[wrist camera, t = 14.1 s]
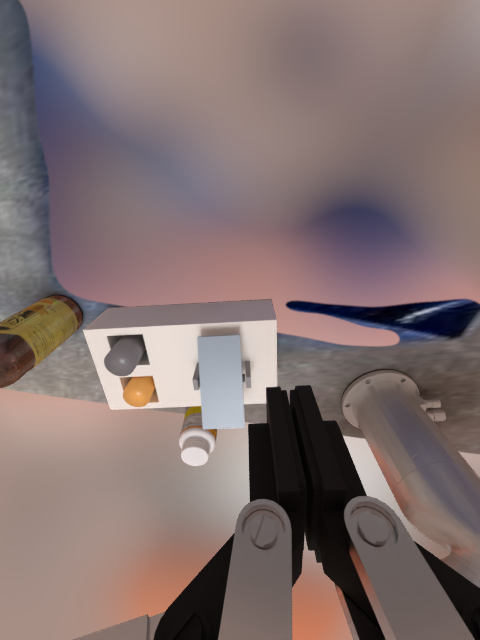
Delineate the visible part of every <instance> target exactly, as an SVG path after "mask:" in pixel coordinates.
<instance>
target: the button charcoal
mask: <svg viewBox="0 0 480 640" xmlns="http://www.w3.org/2000/svg"><path fill="white" fill-rule="evenodd" d="M145 351H146V346H145V342H144V338H143V334H135V335H123V336H122V337H121V338H120V339H119V340H118V342H117V343H116V344H115V345H114V346H113V348H112V349H111V350H110V351H109V353H108V354H107V355H106V356H105V358H104V365H105V367H106V369H107V370H108V371H109V372H110V373H112V374H114V375H116V376H128V375H130V374H131V373H132V372H133V371H134V369H135V368H136V366H137V364H138V363H139V361H140V359H141V358H142V356H143V354H144V353H145Z"/></svg>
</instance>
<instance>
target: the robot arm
mask: <svg viewBox="0 0 480 640" xmlns="http://www.w3.org/2000/svg"><path fill="white" fill-rule="evenodd" d="M440 407H441V402H440V401H439V400H438V399H428V400H424V399H423V398H421V397H420V395H419V389H418V387H417V385H416V384H415V383H414V382H413V380H412V379H411V378H409V377H408V376H407V375H405V374H403V373H401V372H398V371H393V370H379V371H374V372H371V373H368V374H365V375H363V376H361V377H360V378H358V379H357V380H355V381H354V382H353V383H352V384H351V385H350V386H349V387H348V388H347V389H346V391H345V392H344V395H343V397H342V401H341V408H342V411H343V414H344V416H345V418H346V420H347V421H348V422H349V423H350V424H352V425H353V426H355V427H357V428H359V429H361V430H362V432H363V434H364V436H365V438H366V440H367V442H368V444H369V446H370V448H371V450H372V452H373V454H374V456H375V458H376V461H377V463H378V465H379V467H380V469H381V471H382V473H383V475H384V477H385V479H386V481H387V483H388V485H389V487H390V489H391V491H392V493H393V495H394V497H395V499H396V501H397V503H398V505H399V507H400V509H401V511H402V513H403V514H404V516H405V517H406V518H407V520H408V521H409V522H410V523H411V524H412V525H413V527H414V528H415V529H417V530H418V531H419V532H420V533H421V534H423V535H424V536H426V537H427V538H429V539H430V540H432V541H433V542H435V543H437V544H438V545H440V546H442V547H443V548H445V549H447V550H448V551H450V552H451V553H450V555H449V556H447V557H445V558H443V559H438V558H437V557H435V556H434V555H433V554H431V553H430V552H429V551H427V550H426V549H424V548H423V547H422V546H420V545H419V544H417V543H416V542H415V541H413V540H412V538H411V536H410V534H409V533H408V531H407V530H406V528H405V526H404V525H403V523H402V522H401V520H400V518H399V517H398V516H397V515H396V513H395V512H394V511H393V510H392V509H391V508H390V507H389V506H388V505H386V504H385V503H383V502H382V501H380V500H378V499H376V498H372V497H369V496H367V495H366V493H365V491H364V488H363V486H362V483H361V480H360V478H359V475H358V473H357V471H356V468H355V465H354V463H353V460H352V458H351V456H350V453H349V451H348V448H347V446H346V443H345V441H344V438H343V436H342V433H341V431H340V428H339V426H338V424H337V422H336V421H323V420H322V417H321V414H320V411H319V408H318V405H317V402H316V400H315V397H314V394H313V391H312V388H311V386H310V385H305V386H295V390H290V405H289V401H288V396H287V392H286V390H281V388H280V387H266V408H267V423H260V424H249V425H248V432H249V433H248V434H249V476H250V478H249V480H250V503H248V504H247V505H246V506H245V507H244V508H243V509H242V511H241V512H240V514H239V516H238V519H237V523H236V529H235V533H234V534H233V535H232V536H231V538H230V539H229V540H228V541H227V542H226V543H225V544H224V545H223V547H222V548H221V549H220V550H219V551H218V552H217V553H216V555H215V556H214V557H213V558H212V559H211V560H210V561H209V562H208V564H207V565H206V566H205V567H204V568H203V569H202V570H201V571H200V572H199V574H198V575H197V576H196V577H195V578H194V579H193V580H192V581H191V583H190V584H189V585H188V586H187V587H186V588H185V589H184V590H183V592H182V593H181V594H180V595H179V596H178V597H177V599H176V600H175V601H174V602H173V603H172V604H171V605H170V606H169V607H168V609H167V610H166V612H163V613H160V614H157V615H155V616H152V617H148V615H144V616H141V617H138V618H135V619H132V620H129V621H127V622H124V623H120V624H118V625H114V626H112V627H109V628H106V629H103V630H100V631H97V632H94V633H91V634H88V635H85V636H82V637H79V638H76V639H74V640H292V587H293V586H294V584H295V582H296V580H297V579H298V578H299V576H300V574H301V571H302V556H303V550H304V535H305V536H306V541H307V546H308V550H314V551H315V555H316V560H317V563H318V562H319V563H320V562H321V563H322V565H323V570H324V573H325V574H326V575H327V576H328V577H329V578H330V579H331V580H332V581H333V582H334V583H335V587H336V591H337V594H338V597H339V600H340V603H341V606H342V608H343V611H344V614H345V617H346V620H347V623H348V626H349V628H350V631H351V634H352V637H353V640H480V478H479V476H478V475H477V474H476V473H475V472H474V470H473V469H472V468H471V467H470V465H469V464H468V463H467V462H466V460H465V459H464V458H463V457H462V456H461V455H460V453H459V452H458V451H457V450H456V448H455V447H454V446H453V445H452V443H451V442H450V441H449V440H448V439H447V437H446V436H445V435H444V434H443V432H442V431H441V430H440V429H439V428H438V426H437V425H436V424H435V423H434V421H445V420H446V415H445V412H444V411H443V410H442V409H429V410H426V408H440ZM304 533H305V534H304Z"/></svg>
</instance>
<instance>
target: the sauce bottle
mask: <svg viewBox="0 0 480 640" xmlns="http://www.w3.org/2000/svg"><path fill="white" fill-rule="evenodd" d="M81 323H82V313H81V310H80V309H79V307H78V306H77V305H76V304H75V303H74V302H73V301H72V300H70V299H69V298H66V297H63V296H51V297H47V298H45V299H41V300H39V301H38V302H36V303H34V304H32V305H30V306H29V307H27V308H25V309H23V310H22V311H20V312H18V313H16V314H14V315H13V316H11V317H9V318H7V319H5V320H3V321H2V322H0V388H3V387H6V386H9V385H11V384H13V383H15V382H16V381H17V380H19V379H20V378H21V377H22V376H23V375H24V374H25V373H26V372H28V371H29V370H31V369H33V368H34V367H35V366H36V365H37V364H39V363H40V362H41V361H42V360H43V359H44V358H45V357H47V356H48V355H49V354H50V353H51V352H53V351H54V350H55V349H56V348H57V347H58V346H60V345H61V344H62V343H63V342H64V341H65V340H67V339H68V338H69V337H70V336H71V335H72V334H73V333H74V332H75V331H76V330H77V329H78V328H79V327H80V325H81Z"/></svg>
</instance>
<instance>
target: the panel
mask: <svg viewBox="0 0 480 640" xmlns="http://www.w3.org/2000/svg"><path fill="white" fill-rule="evenodd" d="M83 331H84V334H85V337H86V340H87V343H88V346H89V349H90V352H91V355H92V357H93V360H94V363H95V366H96V369H97V372H98V375H99V378H100V381H101V383H102V386H103V389H104V392H105V395H106V398H107V401H108V404H109V406H110V409H111V410H116V409H141V408H165V407H189V406H201V392H200V382H199V377H200V376H199V360H198V344H197V337H198V336H212V335H231V334H240V341H241V359H242V374H245V382H243V396H244V404H260V403H266V387H277V320H276V315H275V312H274V308H273V304H272V300H271V299H263V300H245V301H227V302H209V303H191V304H173V305H155V306H136V307H118V308H108V309H106V310H105V311H104V312H103V313H102V314H101V315H100V316H98V317H97V318H96V319H95V320H94V321H93V322H92V323H90V324H89V325H88V326H87V327H86V328H85V329H84V330H83ZM135 334H143V338H144V342H145V346H146V351H145V353H144V354H143V356H142V358H141V359H140V361H139V363H138V364H137V366H136V368H135V369H134V371H133V372H132V373H131V374H130V375H128V376H116V375H114V374H112V373H110V372H109V371H108V370H107V369H106V367H105V365H104V358H105V356H106V355H107V354H108V353H109V351H110V350H111V349H112V348H113V346H114V345H115V344H116V343H117V342H118V340H119V339H120V338H121V337H122V336H123V335H135ZM139 376H153V379H154V383H155V389H154V392H153V394H152V396H151V398H150V401H149V403H148V404H147V405H145V406H143V407H134V406H131V405H129V404H128V403H126V402H125V400H124V398H123V392H124V390H125V388H126V386H127V385H128V383H129V381H130V380H131V378H132V377H139Z"/></svg>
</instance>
